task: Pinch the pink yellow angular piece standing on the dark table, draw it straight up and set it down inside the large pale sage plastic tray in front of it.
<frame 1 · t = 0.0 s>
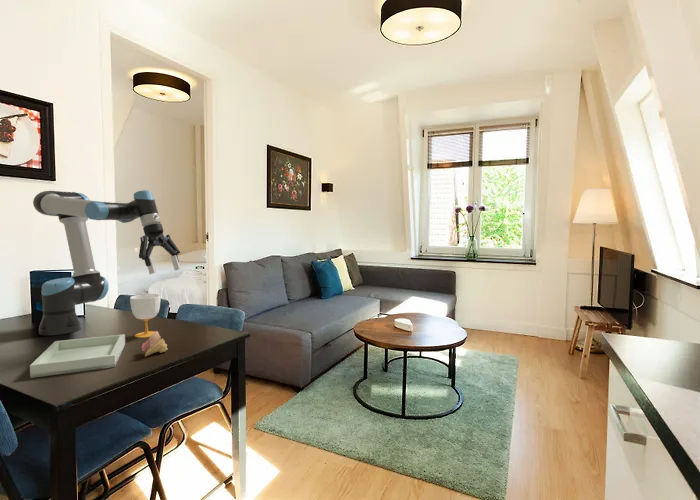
hand: (165, 271, 166), 28 cm above the table, fingers open, 13 cm apart
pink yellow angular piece: (153, 354, 143), on the table
cup: (146, 335, 166), on the table
tray: (83, 358, 137), on the table
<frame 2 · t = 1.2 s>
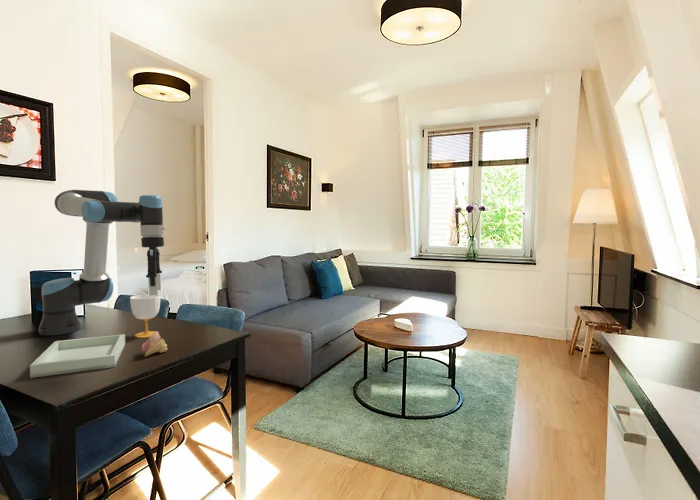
hand: (155, 292, 144), 23 cm above the table, fingers open, 13 cm apart
nothing on the table moved.
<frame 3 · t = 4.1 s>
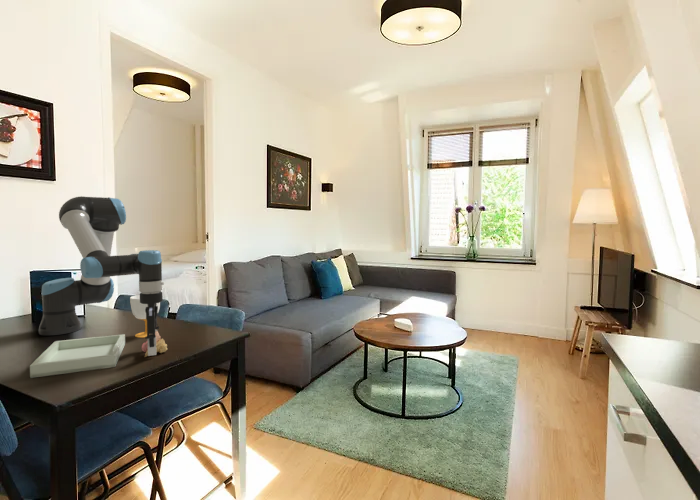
hand: (153, 350, 143), 1 cm above the table, fingers closed on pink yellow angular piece, 9 cm apart
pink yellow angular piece: (153, 354, 142), on the table, touching gripper
everything else where it was.
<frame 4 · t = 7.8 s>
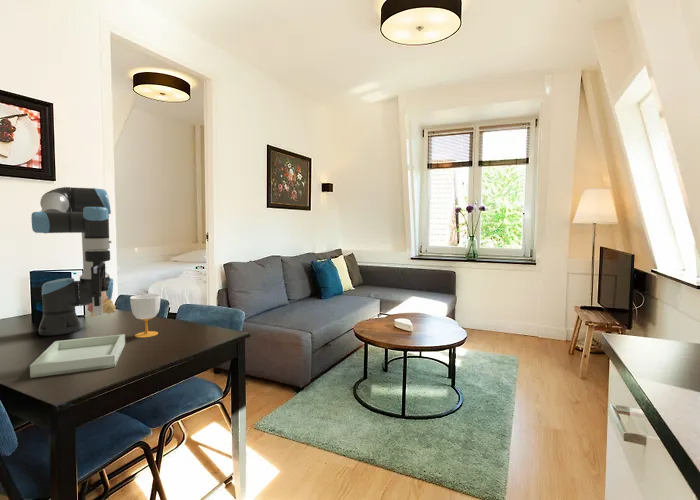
hand: (100, 311, 138), 17 cm above the table, fingers closed on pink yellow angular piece, 9 cm apart
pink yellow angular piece: (100, 315, 137), point 16 cm above the table, touching gripper
everything else where it was.
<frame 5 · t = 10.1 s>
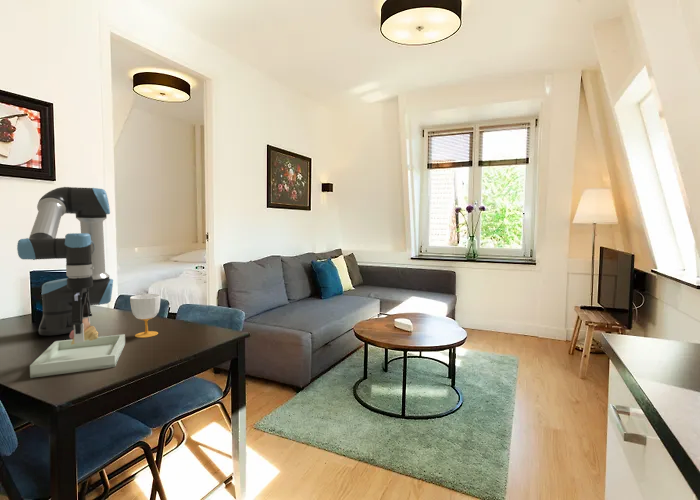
hand: (82, 338, 136), 8 cm above the table, fingers closed on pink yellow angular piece, 9 cm apart
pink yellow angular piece: (82, 342, 136), point 6 cm above the table, touching gripper
everything else where it was.
when the fingers open (3 cm above the table, at t = 11.8 s): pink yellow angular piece drops 1 cm, resting on tray.
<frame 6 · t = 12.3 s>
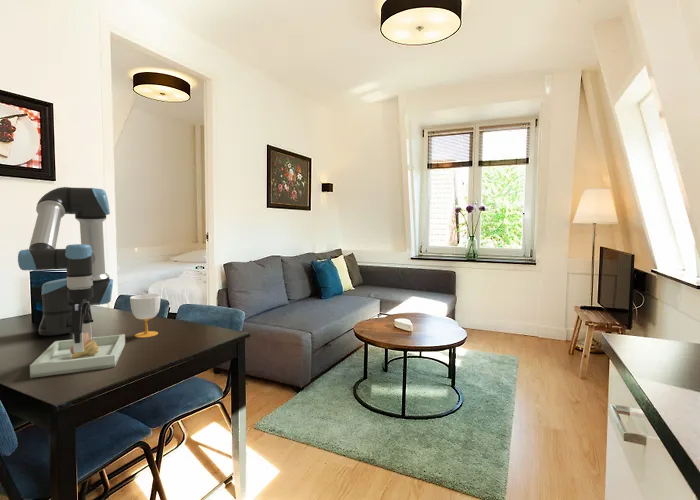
hand: (83, 346, 137), 5 cm above the table, fingers open, 13 cm apart
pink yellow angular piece: (82, 356, 137), point 1 cm above the table, touching tray
everything else where it was.
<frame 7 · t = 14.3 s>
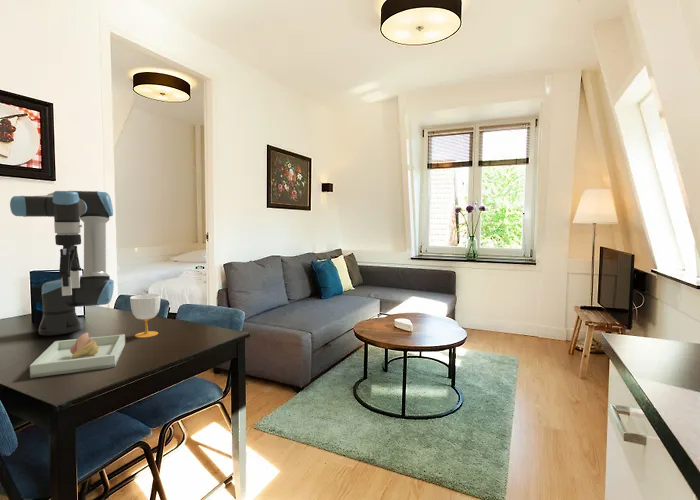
hand: (71, 291, 140), 24 cm above the table, fingers open, 13 cm apart
nothing on the table moved.
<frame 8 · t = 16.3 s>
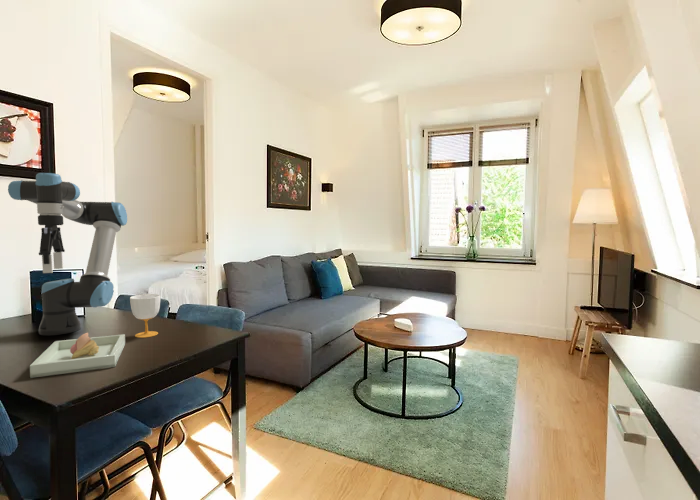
hand: (53, 270, 144), 31 cm above the table, fingers open, 13 cm apart
nothing on the table moved.
at the end: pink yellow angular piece inside the target area on the tray (0.2 cm from its centre), point 0.8 cm above the tray's base; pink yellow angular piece touching tray; the gripper is holding nothing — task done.
